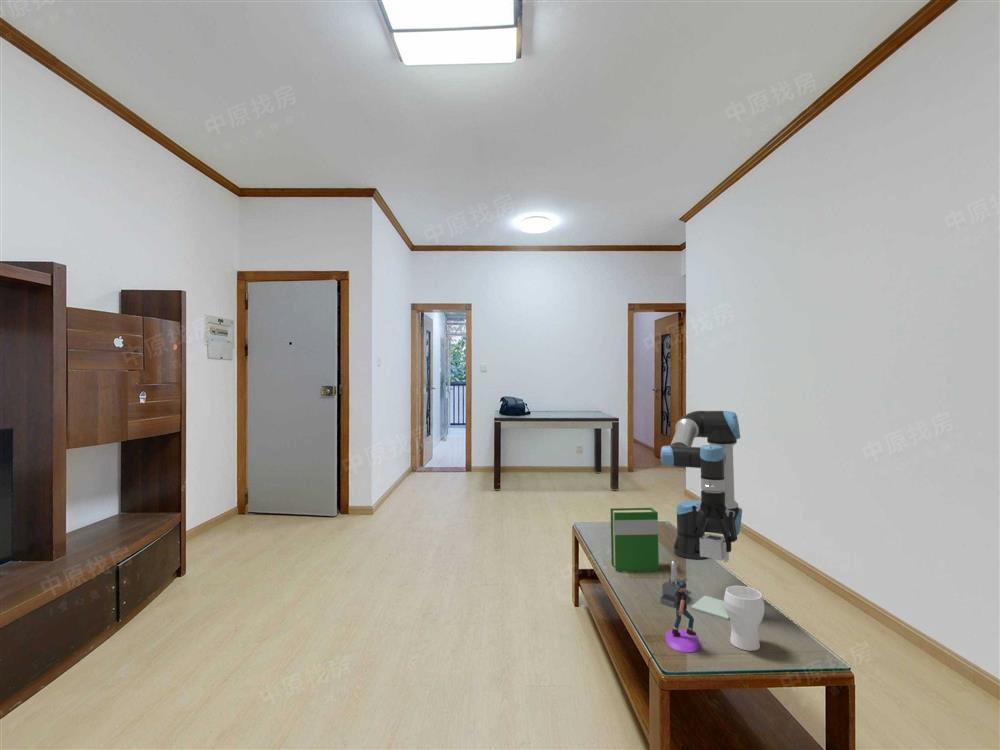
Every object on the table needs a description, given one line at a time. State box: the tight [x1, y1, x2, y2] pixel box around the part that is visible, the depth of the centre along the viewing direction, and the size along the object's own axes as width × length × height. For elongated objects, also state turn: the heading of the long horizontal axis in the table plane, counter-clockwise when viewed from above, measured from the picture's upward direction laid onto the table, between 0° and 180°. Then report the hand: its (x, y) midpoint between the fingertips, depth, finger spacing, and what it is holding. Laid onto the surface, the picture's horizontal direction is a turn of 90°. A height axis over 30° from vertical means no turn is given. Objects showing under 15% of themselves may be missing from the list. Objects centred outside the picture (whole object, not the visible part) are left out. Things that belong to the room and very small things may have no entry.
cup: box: [723, 585, 766, 652], centre depth 142 cm, size 11×11×15 cm
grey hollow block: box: [700, 532, 725, 562], centre depth 164 cm, size 7×7×6 cm
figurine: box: [665, 582, 700, 653], centre depth 142 cm, size 9×9×18 cm
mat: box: [690, 594, 730, 621], centre depth 164 cm, size 12×12×1 cm
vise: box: [659, 559, 689, 608], centre depth 172 cm, size 16×5×14 cm, turn 137°
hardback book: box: [610, 507, 660, 572], centre depth 201 cm, size 18×7×24 cm, turn 90°
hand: (714, 558), depth 164 cm, fingers closed on grey hollow block, 7 cm apart
